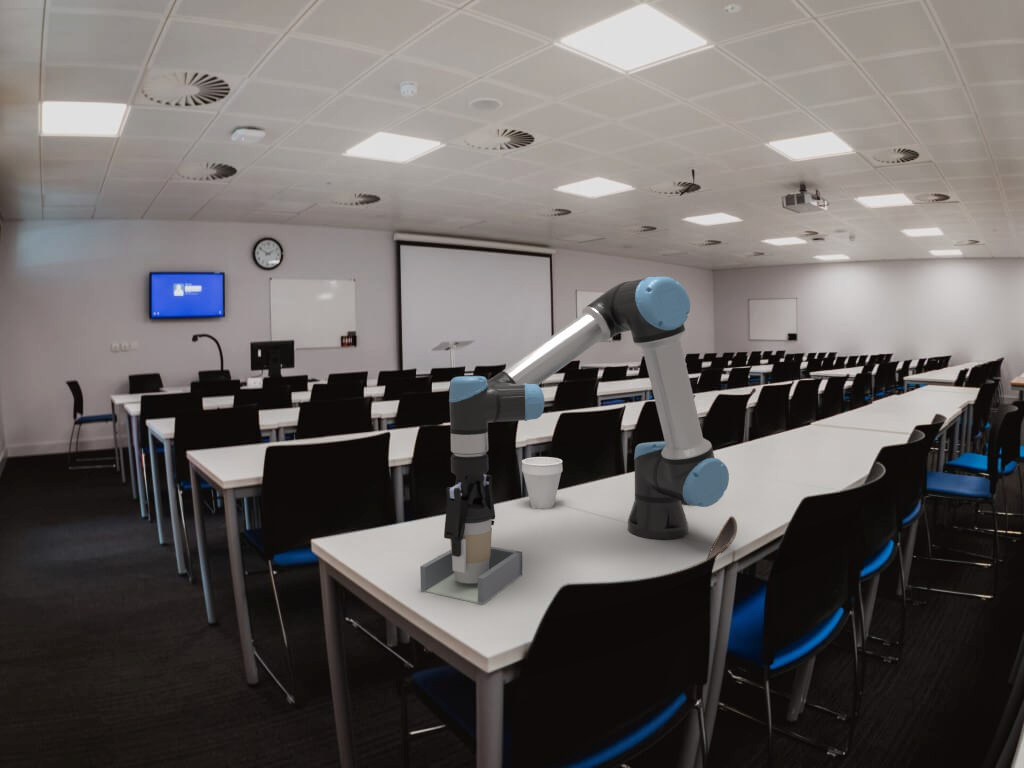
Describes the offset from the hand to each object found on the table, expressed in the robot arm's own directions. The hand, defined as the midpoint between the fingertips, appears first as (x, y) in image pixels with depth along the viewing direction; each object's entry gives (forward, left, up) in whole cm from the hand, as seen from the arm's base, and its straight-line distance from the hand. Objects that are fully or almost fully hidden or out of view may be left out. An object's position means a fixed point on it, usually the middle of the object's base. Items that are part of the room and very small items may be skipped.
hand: (471, 563), depth 124 cm
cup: (+12, -60, -4) cm, 61 cm away
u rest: (0, 0, -4) cm, 4 cm away
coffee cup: (0, 0, -3) cm, 3 cm away
